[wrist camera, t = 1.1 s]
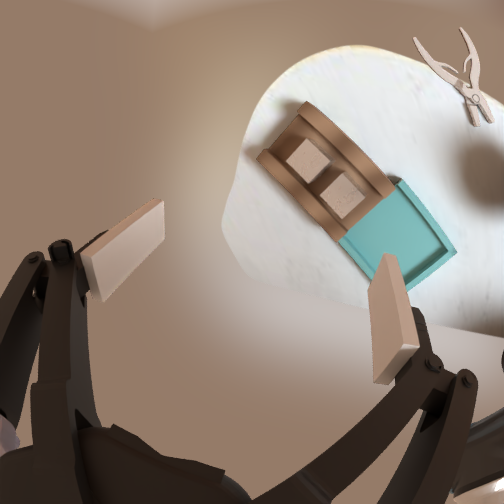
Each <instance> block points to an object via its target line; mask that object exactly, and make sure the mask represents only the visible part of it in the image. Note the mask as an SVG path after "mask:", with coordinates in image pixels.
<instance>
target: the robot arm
mask: <svg viewBox="0 0 504 504" xmlns="http://www.w3.org/2000/svg"><path fill="white" fill-rule="evenodd" d="M164 240H165V227H164V200H159V199H154V198H153V199H152V200H150V201H149V202H147V203H146V204H145V205H143V206H142V207H140V208H139V209H137V210H136V211H135V212H133V213H132V214H130V215H129V216H128V217H126V218H125V219H124V220H122V221H121V222H119V223H118V224H117V225H116V226H114V227H113V228H111V229H110V230H107V231H104V232H102V233H100V234H98V235H97V236H96V237H94V239H92V240H91V241H89V243H87V244H85V245H84V246H83V247H82V248H80V249H79V250H78V251H77V252H75V253H74V251H73V247H72V243H71V241H69V240H67V239H61V240H58V241H55V242H54V243H52V244H51V245H50V246H49V247H48V251H49V254H50V258H51V261H48V260H45V258H44V255H43V253H42V252H39V251H37V252H32V253H30V254H29V255H27V256H26V257H25V258H24V259H23V261H22V263H21V264H20V266H19V267H18V269H17V270H16V272H15V274H14V275H13V277H12V279H11V280H10V282H9V284H8V286H7V287H6V289H5V291H4V293H3V294H2V296H1V298H0V504H331V501H332V500H333V499H334V498H335V497H336V496H337V495H338V494H339V493H341V491H343V490H344V489H345V488H346V487H347V486H348V485H350V484H351V483H352V482H353V481H354V480H355V479H356V478H357V477H358V476H359V475H360V474H361V473H363V471H365V470H366V469H367V468H368V467H369V466H370V465H371V464H372V463H373V462H374V461H375V460H376V459H377V457H378V456H379V455H380V454H381V453H382V452H383V451H384V450H385V449H386V448H387V446H388V445H389V444H390V443H391V442H392V441H393V440H394V439H395V438H396V436H397V435H398V434H399V433H400V432H401V430H402V429H403V428H404V427H405V426H406V424H407V423H408V422H409V421H410V419H411V418H412V417H413V415H414V414H415V413H416V412H417V410H418V409H422V410H423V413H422V416H421V418H420V421H419V423H418V425H417V428H416V430H415V433H414V435H413V437H412V439H411V442H410V444H409V446H408V448H407V450H406V452H405V455H404V456H403V458H402V460H401V462H400V464H399V466H398V468H397V470H396V472H395V474H394V476H393V477H392V479H391V481H390V483H389V485H388V486H387V488H386V490H385V491H384V493H383V495H382V496H381V498H380V500H379V501H378V503H377V504H445V501H446V499H447V497H448V495H449V493H451V494H454V501H455V502H456V503H458V504H504V407H503V408H502V409H500V410H498V411H496V412H495V413H493V414H491V415H489V416H487V417H486V418H484V419H482V420H480V421H478V422H475V423H472V424H471V422H472V417H473V413H474V408H475V402H476V396H477V391H478V381H477V378H476V376H475V375H474V373H472V372H471V371H470V370H468V369H462V370H460V371H459V372H458V373H457V374H454V373H452V372H449V371H447V370H445V369H444V365H443V363H442V361H441V359H440V358H439V357H438V356H437V355H435V354H434V353H433V351H432V347H431V343H430V338H429V334H428V332H427V326H426V323H425V319H424V316H423V314H422V313H421V311H420V310H419V309H418V308H415V307H411V305H410V301H409V298H408V294H407V290H406V287H405V283H404V280H403V277H402V273H401V270H400V267H399V264H398V261H397V257H396V256H395V255H392V254H388V253H385V252H384V254H383V256H382V258H381V261H380V263H379V266H378V268H377V270H376V273H375V275H374V277H373V279H372V282H371V284H370V286H369V288H368V299H369V309H370V321H371V334H372V351H373V379H374V383H378V384H386V385H389V384H390V382H391V381H392V380H393V379H394V378H395V386H394V387H393V388H392V389H391V391H390V392H389V393H388V394H387V395H386V396H385V397H384V398H383V399H382V400H381V401H380V402H379V403H378V404H377V405H376V406H375V407H374V408H373V409H372V410H371V411H370V412H369V413H368V414H367V415H366V416H365V417H364V418H363V419H362V420H361V421H360V422H359V423H358V424H356V425H355V426H354V427H353V428H352V429H351V430H350V431H349V432H347V433H346V434H345V435H344V436H343V437H342V438H341V439H339V440H338V441H337V442H336V443H335V444H334V445H332V446H331V447H330V448H328V449H327V450H326V451H325V452H323V454H321V455H320V456H318V457H317V458H316V459H314V460H313V461H312V462H311V463H309V464H308V465H306V466H305V467H304V468H302V469H301V470H299V471H298V472H297V473H295V474H294V475H292V476H291V477H289V478H288V479H286V480H285V481H283V482H282V483H280V484H278V485H277V486H275V487H274V488H272V489H271V490H269V491H268V492H266V493H264V494H262V495H260V496H259V497H257V498H255V499H254V500H251V498H250V496H249V495H248V494H247V492H246V491H245V490H244V489H243V488H242V487H241V486H240V485H239V484H238V483H236V482H235V481H234V480H232V479H231V478H229V477H228V476H226V475H224V474H225V470H222V469H219V468H216V467H212V466H209V465H206V464H203V463H200V462H198V461H194V460H186V459H179V458H173V457H167V456H163V455H161V454H159V453H158V452H157V451H155V450H154V449H153V448H151V447H150V446H149V445H148V444H146V443H145V442H144V441H142V440H141V439H140V438H139V437H138V436H136V435H134V434H132V433H130V432H128V431H126V430H124V429H122V428H120V427H118V426H117V425H115V424H113V425H112V426H111V428H106V427H102V426H101V423H100V420H99V418H98V416H97V413H96V409H95V402H94V396H93V389H92V381H91V372H90V361H89V350H88V330H87V297H86V292H88V290H90V292H91V296H92V298H93V299H95V300H97V301H99V302H102V303H104V302H105V301H106V299H107V298H108V297H109V296H110V295H111V294H112V293H113V292H114V291H115V290H116V289H117V287H119V285H120V284H121V283H122V282H123V281H124V280H125V279H126V278H127V277H128V276H129V275H130V274H131V273H132V272H133V271H134V270H135V269H136V268H137V267H138V265H140V264H141V263H142V262H143V261H144V259H146V258H147V257H148V256H149V255H150V254H151V253H152V252H153V251H154V250H155V249H156V248H157V247H158V246H159V245H160V244H161V243H162V242H163V241H164ZM33 290H34V294H33ZM39 343H40V346H39ZM38 346H39V363H38V364H39V365H38V381H37V383H32V385H31V390H30V396H31V397H30V401H31V424H32V438H33V445H31V446H27V447H23V448H19V449H17V448H18V447H19V445H20V440H19V438H18V437H17V436H16V432H15V431H16V428H17V426H18V422H19V420H20V416H21V412H22V408H23V403H24V398H25V394H26V389H27V385H28V381H29V377H30V373H31V370H32V366H33V362H34V359H35V356H36V352H37V349H38ZM502 368H503V372H504V351H503V355H502Z"/></svg>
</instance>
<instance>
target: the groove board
mask: <svg viewBox="0 0 504 504" xmlns="http://www.w3.org/2000/svg"><path fill="white" fill-rule="evenodd" d="M297 112H298V113H299V115H298V116H297V117H296V118H295V119H294V120H293V121H292V123H291V124H290V125H289V126H288V127H287V128H286V129H285V131H284V132H283V133H282V134H281V135H280V136H279V137H278V139H277V140H276V141H275V142H274V143H273V144H272V146H271V147H270V148H269V149H264V150H263V151H262V152H261V154H260V155H259V156H258V157H257V158H256V160H257V161H258V162H259V163H260V164H261V165H262V166H263V167H264V168H265V169H266V170H267V171H268V172H270V173H271V174H272V175H273V176H274V177H275V178H276V179H277V180H278V181H279V182H280V183H281V184H282V186H283V187H284V188H285V189H286V190H287V191H288V192H289V193H290V194H291V195H292V196H293V197H294V198H295V199H296V200H297V201H298V202H299V203H300V204H301V205H302V206H303V207H304V208H305V209H306V210H307V211H308V212H309V214H310V215H311V216H312V217H313V218H314V219H315V220H316V221H317V222H318V223H319V224H320V225H321V226H322V228H323V229H324V230H325V231H326V232H327V233H328V234H329V235H330V236H331V237H332V239H333V240H334V241H335V242H338V241H339V240H340V239H341V238H342V237H343V236H344V235H346V234H347V232H348V230H349V229H350V228H352V227H353V226H354V225H355V224H356V223H357V222H358V221H359V220H361V219H362V218H363V217H364V216H365V215H366V214H367V213H368V212H369V211H371V210H372V209H373V208H374V207H375V206H376V205H377V204H378V203H379V202H380V201H382V200H383V199H386V198H387V197H388V196H389V195H390V194H391V193H392V192H393V191H394V190H395V189H396V188H395V185H394V184H393V183H392V182H391V181H390V180H389V178H388V177H387V176H386V175H385V174H384V173H383V172H382V171H381V170H380V168H379V167H378V166H377V165H376V164H375V163H374V162H373V161H372V160H371V159H370V158H369V157H368V156H367V155H366V154H365V153H364V152H363V151H362V150H361V149H360V148H359V147H358V146H357V145H356V144H355V143H354V142H353V141H352V140H351V139H350V138H349V137H348V136H347V135H346V134H345V133H344V132H343V131H342V130H341V129H340V128H339V127H338V126H337V125H335V124H334V123H333V122H332V121H331V120H330V119H329V118H328V117H327V116H325V115H324V114H323V113H322V112H321V111H320V110H319V109H317V108H316V107H315V106H314V105H312V104H311V103H309V102H307V101H306V102H305V103H304V104H303V105H302V106H301V107H300V109H299V110H298V111H297ZM306 138H307V139H313V140H315V141H316V142H317V143H318V144H319V145H320V146H321V147H322V148H323V149H324V150H326V151H327V152H328V153H329V154H330V155H331V156H332V157H333V158H334V159H335V160H336V161H335V162H334V163H333V164H332V165H331V166H330V167H329V168H328V169H327V170H326V171H325V172H324V173H323V174H322V175H321V176H320V177H319V178H318V179H317V180H316V181H314V182H311V183H309V184H308V183H307V182H306V181H305V180H304V179H303V178H302V177H301V176H300V175H299V174H298V173H297V172H296V171H295V170H294V169H293V168H292V167H291V166H290V165H289V164H288V163H287V162H286V160H287V159H288V158H289V157H290V156H291V155H292V154H293V153H294V152H295V150H296V149H297V148H298V147H299V146H300V145H301V144H302V143H303V142H304V141H305V139H306ZM343 172H347V173H348V174H349V175H350V176H351V177H352V178H353V179H354V180H355V181H356V182H357V183H358V184H359V185H360V186H361V187H362V189H363V190H364V191H365V192H366V193H367V195H366V197H365V198H364V199H363V200H362V201H361V202H360V203H359V204H358V205H357V206H356V207H355V208H354V209H353V210H351V211H350V212H349V213H348V214H347V215H346V216H345V217H344V218H343V219H341V218H340V217H339V215H338V214H337V213H336V212H335V211H334V210H333V209H332V208H331V207H330V206H329V205H328V204H327V202H326V201H325V200H324V199H323V198H322V197H321V196H320V194H321V193H323V192H324V191H325V190H326V189H327V188H328V187H329V186H330V185H331V184H332V183H333V182H334V181H335V180H336V179H337V178H338V177H339V176H340V175H341V174H342V173H343Z"/></svg>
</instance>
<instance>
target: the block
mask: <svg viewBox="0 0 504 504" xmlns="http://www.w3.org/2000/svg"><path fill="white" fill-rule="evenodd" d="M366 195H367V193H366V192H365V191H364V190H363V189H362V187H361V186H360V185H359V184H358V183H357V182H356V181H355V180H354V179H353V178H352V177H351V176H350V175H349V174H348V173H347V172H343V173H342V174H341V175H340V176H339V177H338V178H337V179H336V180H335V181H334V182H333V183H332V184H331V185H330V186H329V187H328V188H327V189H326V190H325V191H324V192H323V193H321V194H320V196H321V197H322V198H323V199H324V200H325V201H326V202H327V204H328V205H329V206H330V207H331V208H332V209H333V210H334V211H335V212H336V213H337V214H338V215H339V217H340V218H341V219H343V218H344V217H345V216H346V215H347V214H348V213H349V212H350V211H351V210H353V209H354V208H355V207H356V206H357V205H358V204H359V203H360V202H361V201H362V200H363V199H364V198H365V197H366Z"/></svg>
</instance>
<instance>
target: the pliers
mask: <svg viewBox="0 0 504 504" xmlns="http://www.w3.org/2000/svg"><path fill="white" fill-rule="evenodd" d="M459 31H460V33H461V35H462V37H463V39H464V41H465V43H466V46H467V49H468V51H469V56H468V57H467V58H466V59H465V61H464V63H463V73H464V72H465V70H466V69H465V68H466V63H467V61H468V60H471V69H470V74H469V79H470V84H471V86H472V89H470V88H467V87H466V85H465V84H464V83H463V82H462V81H460V80H459V79H458V78H456V77H454V76H453V75H451V74H450V73H448V72H447V71H445V70H444V69H443V68H442V67H446V68H448V69H450V70H452V71H453V72H454V73H455V74H458V71H456V70H455V69H454V68H452V67H451V66H450V65H447V64H445V63H440V62H437V61H434V59H433V58H432V57H431V56H430V55H429V54H428V53H427V51H426V50H425V49H424V48H423V46H422V45H421V44H420V42H419V41H418V40H417V38H416V37H414V38H413V42H414V44H415V46H416V48H417V50H418V52H419V53H420V55H421V56H422V58H423V59H424V61H425V62H426V63H427V65H428V66H430V67H431V68H432V69H433V70H434V71H435V72H436V73H437V74H438V75H439V76H440V77H441V78H442V79H444V80H445V81H446V82H448V83H450V84H452V85H453V86H454V87H456V88H457V89H458V90H459V91H460V92H461V94H462V95H464V96H465V98H466V103H467V106H468V109H469V112H470V115H471V118H472V121H473V124H474V127H479V126H480V121H479V115H478V110H477V106H476V105H477V104H478V106H479V108H480V109H481V111H482V112H483V114H484V116H485V117H486V119H487V120H488V122H489V124H490V123H493V122H494V121H495V120H494V118H493V116H492V113H491V111H490V109H489V106H488V104H487V102H486V100H485V98H484V97H483V95H482V94H481V92H480V91H479V87H478V79H479V75H480V63H479V58H478V55H477V52H476V49H475V47H474V45H473V43H472V41H471V39H470V38H469V36H468V35H467V33H466V32H465V31H464V30H463V28H462V27H461V28H459Z"/></svg>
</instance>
